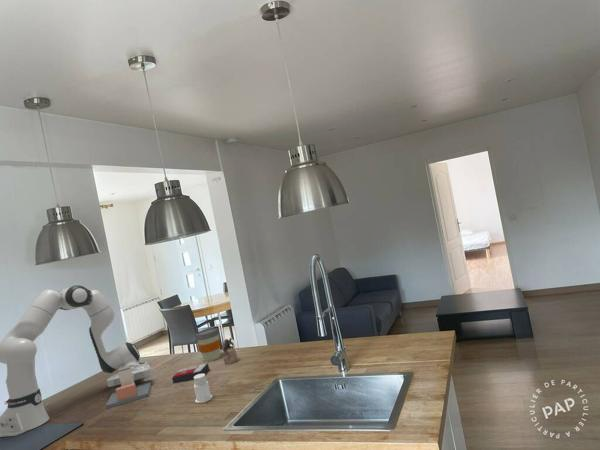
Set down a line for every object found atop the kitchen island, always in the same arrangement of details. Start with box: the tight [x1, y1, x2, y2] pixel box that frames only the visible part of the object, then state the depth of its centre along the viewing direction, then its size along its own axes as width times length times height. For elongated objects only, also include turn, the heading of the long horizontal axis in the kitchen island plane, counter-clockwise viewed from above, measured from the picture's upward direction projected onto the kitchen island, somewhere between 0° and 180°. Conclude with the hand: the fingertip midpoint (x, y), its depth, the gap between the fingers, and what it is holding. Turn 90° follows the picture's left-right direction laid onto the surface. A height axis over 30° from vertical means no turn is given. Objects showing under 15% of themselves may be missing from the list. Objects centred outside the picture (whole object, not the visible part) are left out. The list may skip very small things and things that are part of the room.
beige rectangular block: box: [117, 365, 135, 387], centre depth 206 cm, size 5×4×12 cm
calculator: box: [171, 363, 210, 384], centre depth 216 cm, size 11×4×15 cm
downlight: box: [193, 374, 213, 404], centre depth 181 cm, size 8×7×10 cm
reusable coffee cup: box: [195, 327, 222, 362], centre depth 240 cm, size 13×13×15 cm
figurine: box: [221, 337, 239, 366], centre depth 226 cm, size 7×7×12 cm
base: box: [105, 380, 153, 410], centre depth 206 cm, size 18×18×6 cm
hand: (127, 381), depth 208 cm, fingers closed, pressing on beige rectangular block
